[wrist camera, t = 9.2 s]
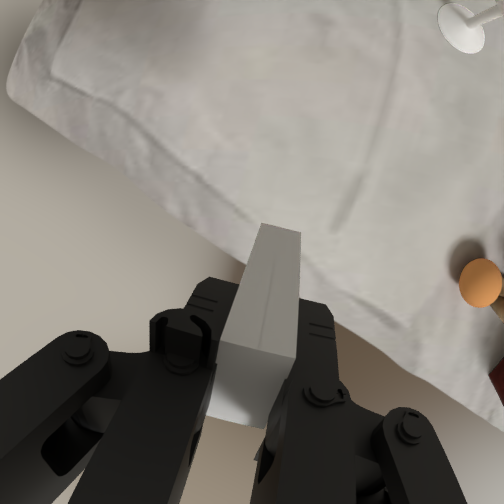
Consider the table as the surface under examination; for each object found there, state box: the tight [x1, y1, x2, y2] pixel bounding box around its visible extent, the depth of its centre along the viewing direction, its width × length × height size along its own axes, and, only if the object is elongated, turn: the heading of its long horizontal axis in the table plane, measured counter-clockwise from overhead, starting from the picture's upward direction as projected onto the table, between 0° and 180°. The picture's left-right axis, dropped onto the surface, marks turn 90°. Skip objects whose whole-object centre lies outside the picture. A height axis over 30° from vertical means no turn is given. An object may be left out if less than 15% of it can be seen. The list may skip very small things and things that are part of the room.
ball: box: [459, 258, 502, 308], centre depth 31 cm, size 6×6×6 cm
